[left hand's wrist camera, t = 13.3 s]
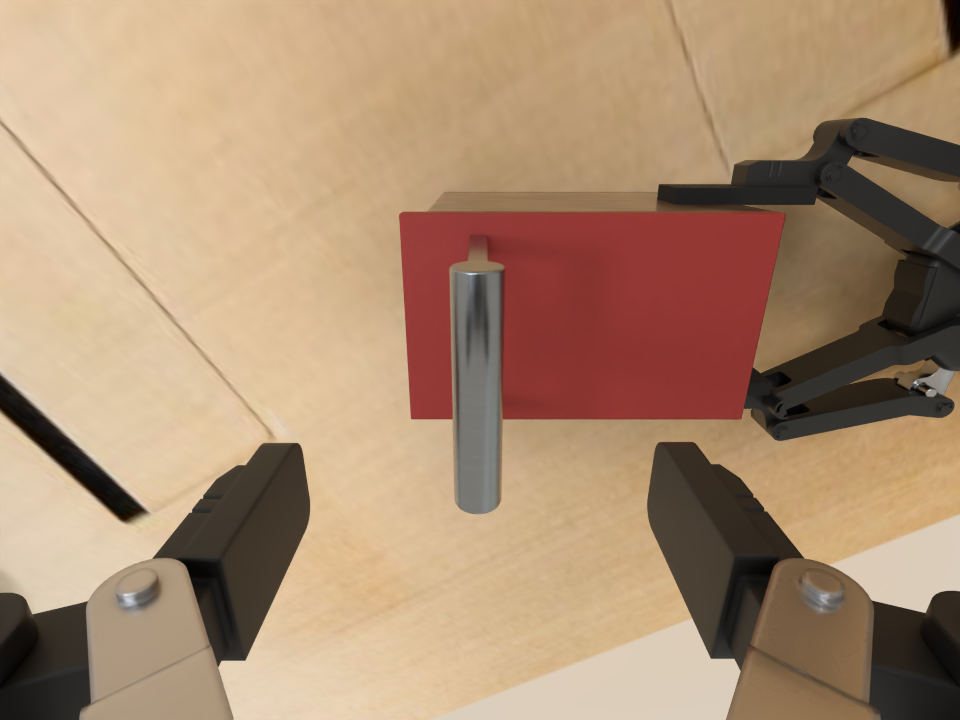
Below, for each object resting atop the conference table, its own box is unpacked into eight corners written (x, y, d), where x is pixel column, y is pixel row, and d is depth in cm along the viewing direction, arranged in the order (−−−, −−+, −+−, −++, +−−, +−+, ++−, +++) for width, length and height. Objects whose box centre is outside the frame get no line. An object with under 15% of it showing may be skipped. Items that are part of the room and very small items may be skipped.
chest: (447, 334, 35) (433, 411, 24) (443, 192, 31) (425, 211, 21) (658, 334, 35) (733, 410, 24) (678, 192, 31) (774, 211, 21)
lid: (413, 411, 24) (381, 531, 17) (401, 211, 21) (355, 246, 13) (733, 411, 24) (850, 531, 17) (775, 211, 21) (948, 246, 13)
